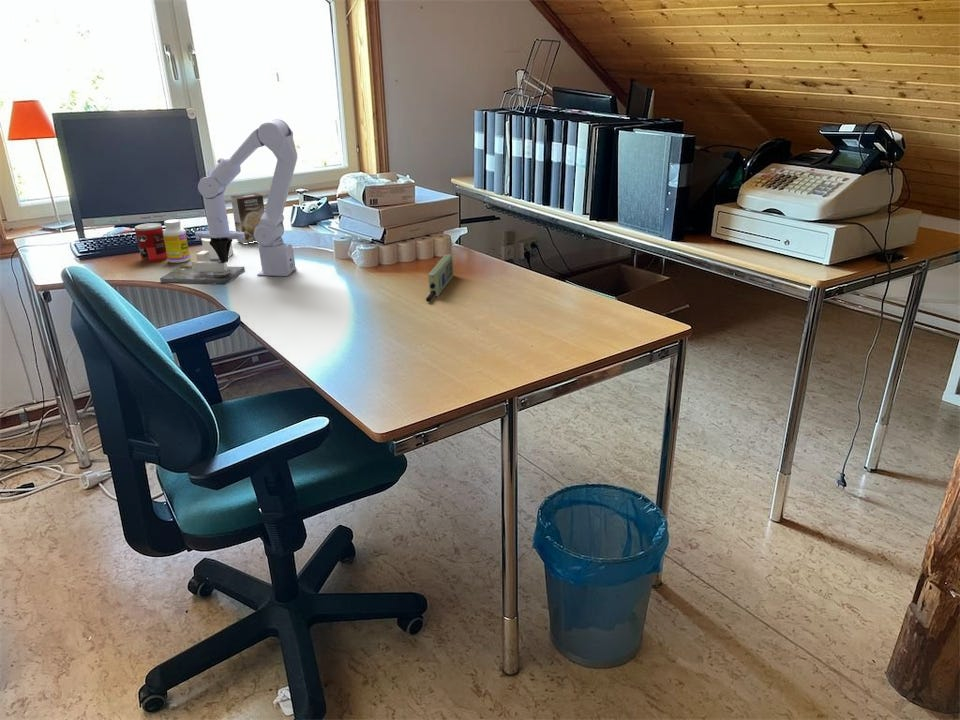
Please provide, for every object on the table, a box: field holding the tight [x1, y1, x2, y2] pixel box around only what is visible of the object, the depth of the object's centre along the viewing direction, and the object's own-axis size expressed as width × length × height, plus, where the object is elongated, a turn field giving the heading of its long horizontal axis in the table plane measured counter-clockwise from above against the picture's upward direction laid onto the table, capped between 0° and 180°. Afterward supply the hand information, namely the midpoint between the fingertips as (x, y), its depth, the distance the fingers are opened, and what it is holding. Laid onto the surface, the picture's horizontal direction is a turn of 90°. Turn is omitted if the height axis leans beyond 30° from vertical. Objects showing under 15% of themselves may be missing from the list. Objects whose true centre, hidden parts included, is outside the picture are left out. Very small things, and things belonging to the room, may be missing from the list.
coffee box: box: [230, 192, 265, 244], centre depth 241 cm, size 9×6×16 cm
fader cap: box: [195, 250, 212, 262], centre depth 211 cm, size 2×4×4 cm, turn 173°
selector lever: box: [191, 260, 231, 276], centre depth 204 cm, size 11×5×4 cm, turn 83°
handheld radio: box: [425, 253, 455, 303], centre depth 194 cm, size 7×3×25 cm
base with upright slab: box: [201, 221, 234, 260], centre depth 226 cm, size 9×9×12 cm
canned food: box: [134, 222, 168, 263], centre depth 223 cm, size 8×8×11 cm
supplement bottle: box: [163, 219, 191, 264], centre depth 221 cm, size 7×7×13 cm
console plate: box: [159, 265, 246, 285], centre depth 208 cm, size 20×13×1 cm, turn 83°
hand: (224, 262), depth 210 cm, fingers closed
